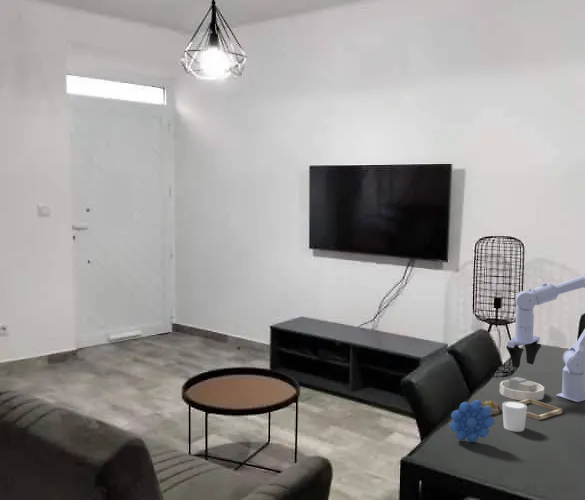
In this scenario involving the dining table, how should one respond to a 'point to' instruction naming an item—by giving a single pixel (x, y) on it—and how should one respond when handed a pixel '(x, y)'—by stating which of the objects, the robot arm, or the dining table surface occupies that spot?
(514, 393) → the bowl
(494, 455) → the dining table surface
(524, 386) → the beige grey cube
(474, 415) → the blue knobbed flower
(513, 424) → the white cup
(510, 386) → the matte grey cube
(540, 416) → the parts frame
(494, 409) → the mineral rock
